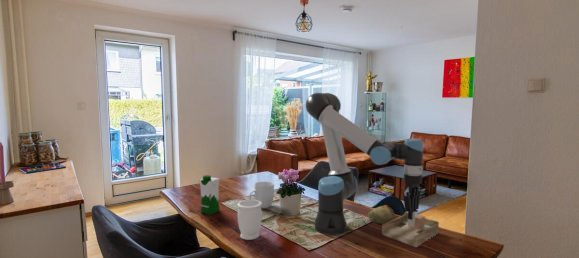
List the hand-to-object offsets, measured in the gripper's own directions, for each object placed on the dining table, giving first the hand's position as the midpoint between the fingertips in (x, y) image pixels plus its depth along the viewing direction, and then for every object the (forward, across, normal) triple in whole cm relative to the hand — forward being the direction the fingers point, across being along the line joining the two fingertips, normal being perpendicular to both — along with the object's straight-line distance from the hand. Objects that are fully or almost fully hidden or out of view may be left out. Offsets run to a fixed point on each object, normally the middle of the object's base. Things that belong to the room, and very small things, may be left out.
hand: (411, 225), depth 137 cm
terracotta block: (+1, +4, 0) cm, 4 cm away
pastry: (+4, +4, +17) cm, 18 cm away
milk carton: (+4, -57, +84) cm, 101 cm away
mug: (+4, -31, +72) cm, 78 cm away
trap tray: (+4, 0, 0) cm, 4 cm away
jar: (+4, -56, +45) cm, 72 cm away
